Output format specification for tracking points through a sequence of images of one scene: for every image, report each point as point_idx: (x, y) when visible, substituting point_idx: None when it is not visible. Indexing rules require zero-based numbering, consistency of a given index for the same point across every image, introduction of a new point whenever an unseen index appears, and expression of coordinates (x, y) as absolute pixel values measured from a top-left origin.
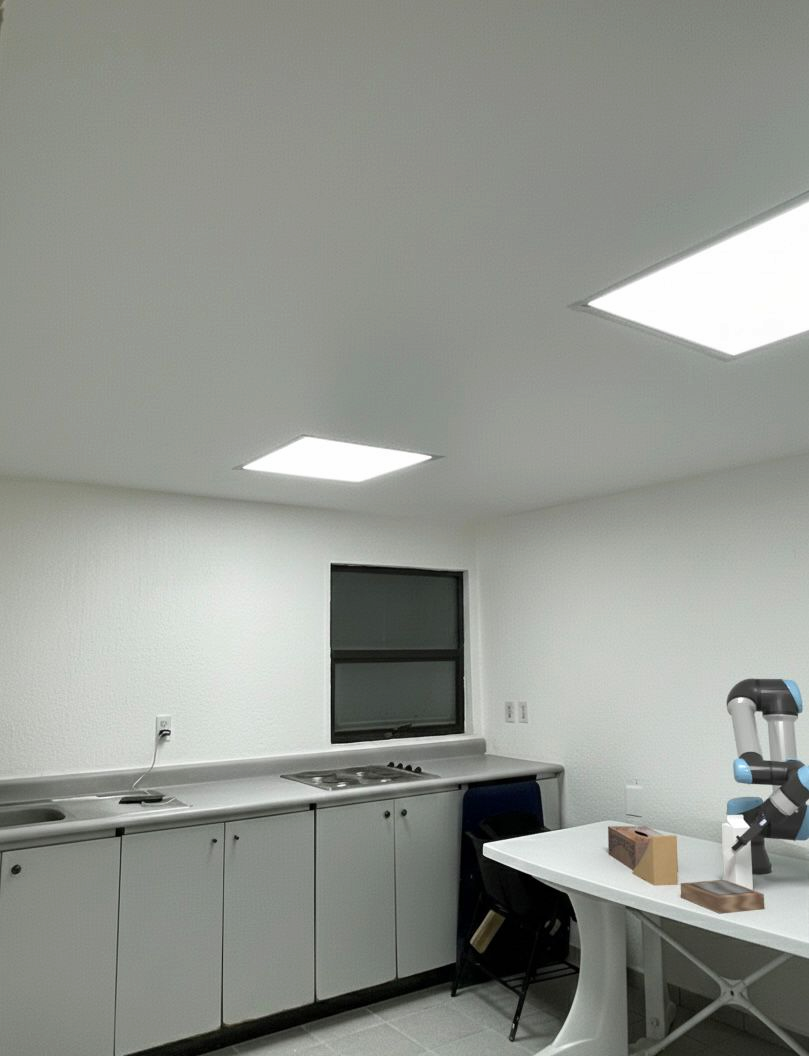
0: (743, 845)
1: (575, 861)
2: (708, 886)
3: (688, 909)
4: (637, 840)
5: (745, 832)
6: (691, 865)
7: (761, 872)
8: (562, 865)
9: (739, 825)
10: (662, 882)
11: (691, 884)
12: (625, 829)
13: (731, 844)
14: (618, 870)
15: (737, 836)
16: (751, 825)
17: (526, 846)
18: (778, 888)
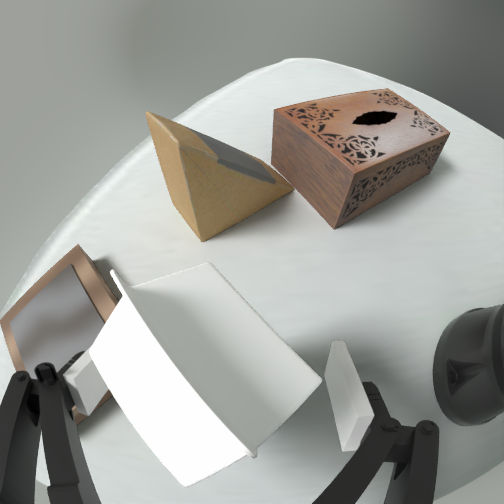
0: (78, 407)
1: (288, 101)
2: (54, 303)
3: (30, 279)
4: (292, 111)
5: (1, 403)
6: (420, 249)
7: (447, 415)
8: (250, 95)
9: (135, 402)
10: (180, 212)
11: (68, 266)
12: (388, 102)
13: (89, 350)
14: (267, 142)
15: (38, 368)
16: (74, 483)
17: (329, 72)
18: (310, 491)
